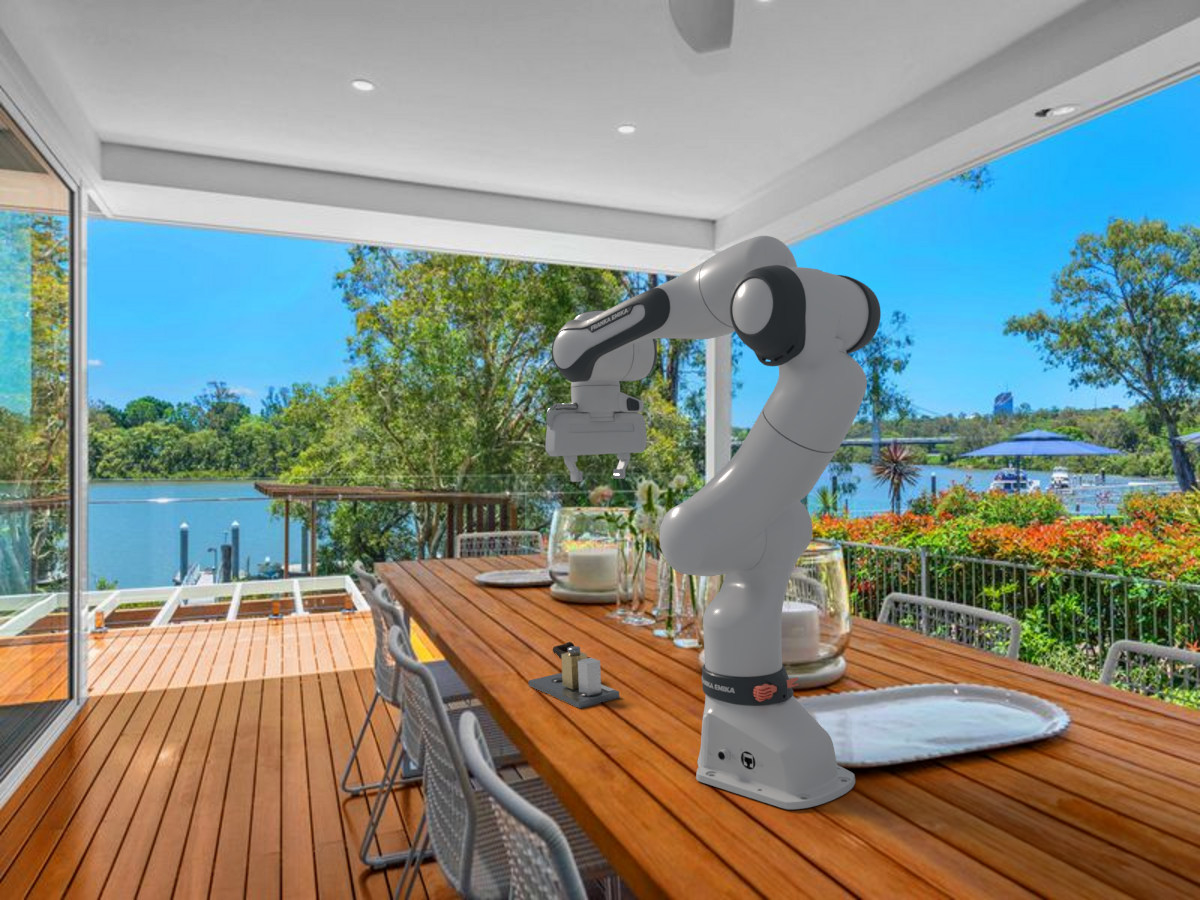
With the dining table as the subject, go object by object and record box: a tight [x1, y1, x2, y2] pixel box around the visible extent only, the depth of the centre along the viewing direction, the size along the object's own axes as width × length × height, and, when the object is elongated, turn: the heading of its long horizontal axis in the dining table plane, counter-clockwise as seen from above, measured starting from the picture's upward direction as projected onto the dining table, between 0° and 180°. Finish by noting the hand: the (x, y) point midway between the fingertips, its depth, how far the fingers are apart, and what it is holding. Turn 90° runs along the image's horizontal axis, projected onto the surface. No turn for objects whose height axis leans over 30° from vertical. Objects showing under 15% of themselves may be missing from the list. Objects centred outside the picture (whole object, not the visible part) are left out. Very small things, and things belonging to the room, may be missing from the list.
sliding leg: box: [561, 645, 588, 689], centre depth 151 cm, size 4×4×7 cm
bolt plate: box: [528, 657, 620, 709], centre depth 152 cm, size 18×9×7 cm, turn 35°
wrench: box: [552, 641, 591, 660], centre depth 169 cm, size 5×5×30 cm
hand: (598, 480), depth 142 cm, fingers open, 8 cm apart
